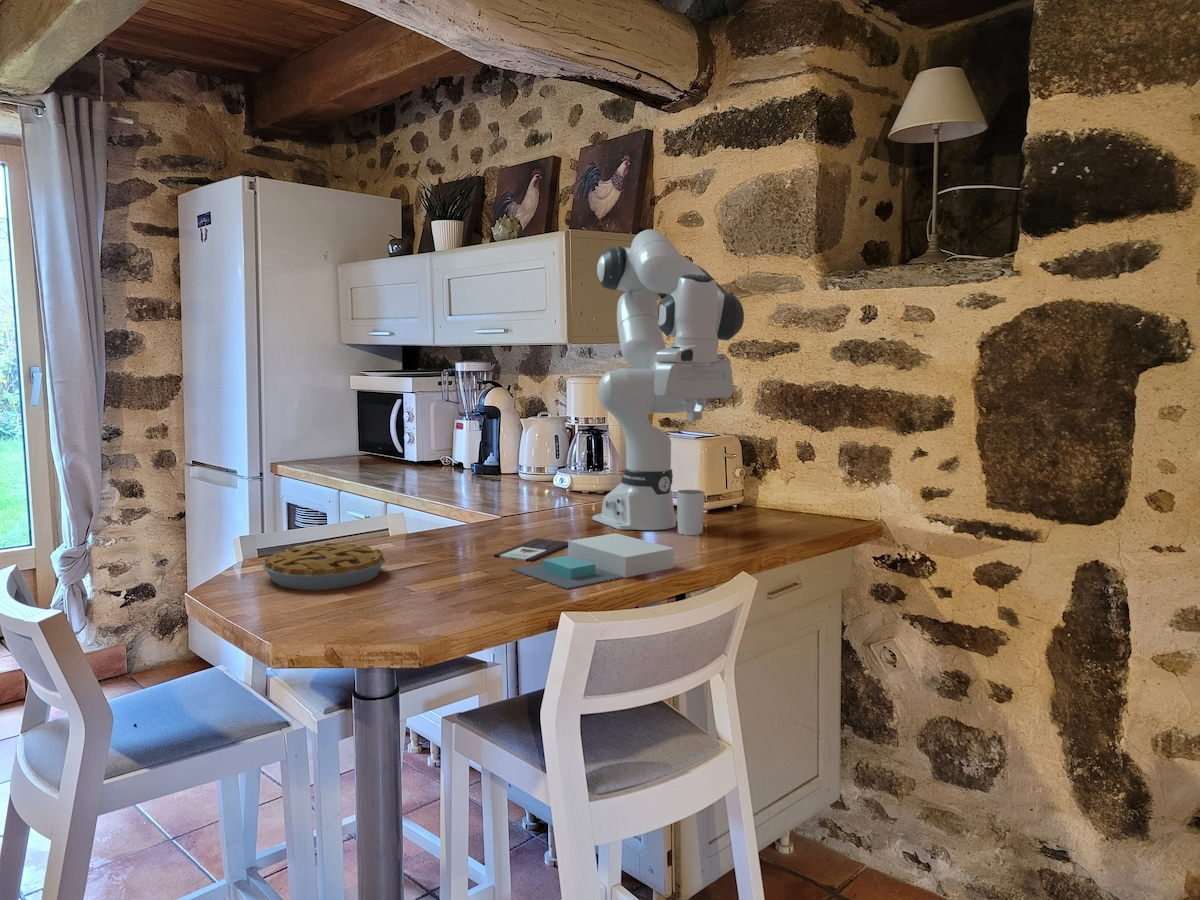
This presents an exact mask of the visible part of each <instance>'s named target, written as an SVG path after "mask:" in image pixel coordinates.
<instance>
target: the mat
mask: <svg viewBox="0 0 1200 900" xmlns="http://www.w3.org/2000/svg"><path fill="white" fill-rule="evenodd" d="M511 571H513V572H516V573H518V574H521V575H525V576H527V575H528V576H527V577H530V576H531V577H530V578H533V577H534V578H533V579H535V578H537V579H536V580H538V579H540V580H539V581H541V580H543V581H542V582H544V581H546V582H545V583H547V582H549V583H548V584H550V583H552V584H555V585H557V586H556V587H558V586H560V587H559V588H561V587H562V588H561V589H564V588H565V589H564V590H566V589H568V590H572V589H576V588H582V587H586V586H592V585H597V584H600V583H599V582H602V583H605V582H604V581H607V582H609V581H608V580H612V581H614V580H613V579H617V580H621V579H624V577H623V576H620V575H617V574H613V573H610V572H607V571H604V570H601V569H597V568H595V574H594V575H589V576H584V577H579V578H574V579H569V578H566V577H563V576H560V575H557V574H554V573H551V572H548V571H545V570H543V562H541V563H540V562H539V563H535V564H528V565H523V566H518V567H513V568H511ZM620 578H621V579H620ZM596 583H597V584H596ZM552 584H551V585H552ZM591 584H592V585H591ZM555 585H554V586H555Z"/></svg>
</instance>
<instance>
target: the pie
mask: <svg viewBox="0 0 1200 900" xmlns="http://www.w3.org/2000/svg"><path fill="white" fill-rule="evenodd" d="M385 562H386V560H385V557H384V552H382V551H381V550H380V549H377V548H375V549H372V548H371V547H370V546H368V545H365V544H363V545H360V546H356V545H355V544H353V543H352V544H344V545H338V544H336V543H328V542H327V543H325V545H320V546H317V545H314V544H312V545H311V544H309V545H306V546H305V547H301V548H297V547H288V548H287V550H285V551H282V552H281V551H277V552H275V553H271V555H270V556H266V557H265V559H264V561H263V566H262V568H263V570H265V571H266V572H267V574H268V575H269V577H270V579H271V580H272V582H273V583H275V584H277V585H278V586H279V587H283V588H288V589H293V590H300V591H301V590H304V591H305V590H306V591H321V590H334V589H339V588H340V589H341V588H346V587H351V586H357V585H359V584H363V583H366V582H370V581H372V580H373V579H374V578H376V577H378V574H379V573H380V570H381V567H382V566H383V564H384V563H385Z"/></svg>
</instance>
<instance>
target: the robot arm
mask: <svg viewBox="0 0 1200 900" xmlns="http://www.w3.org/2000/svg"><path fill="white" fill-rule="evenodd" d="M596 272H597V278H598V280H599V283H600V285H601V286H602V287H603V288H605V289H607V290H611V291H616V290H617V291H618V290H619V291H625V292H624V293H623V294H621V295H620V297H619V299H618V300H617V306H616V325H617V326H616V327H617V334H618V341H619V346H620V347H619V349H620V353H621V356H622V357H623V360H624V361H625V362H626V363H627V364H628V365H630V366H632V367H633V368H628V367H627V368H626V367H624V368H619V369H614V370H609V371H606V372H605V373H604V374H603V375H602V376H601V378H600V380H599V383H598V384H597V385H598V386H597V396H598V401H599V402H600V404H601V405H602V407H603V408H604V409H605V410H606V411H608V412H609V413H610V414H611V415H612V416H613V417H614V418H615V419H616V420H617V422H618V424H619V425H620V427H621V430H622V432H623V435H624V439H625V441H624V442H625V455H626V456H625V458H626V459H625V462H626V463H625V464H626V465H625V469H621V470H618V472H621V473H619V474H618V476H621V479H620V483H619V484H618V485H617V486H615V488H613V489H612V490H611V491H610V492H608V493H607V494H606V495H605V496H604V497H603V501H602V504H601V505H602V507H601V512H600V513H596V514H594V515H592V521H596V522H597V523H601V524H603V525H607V526H608V527H611V528H614V529H617V530H623V531H625V530H634V531H635V530H638V531H659V530H660V531H661V530H668V529H669V530H670V529H673V528H675V527H677V523H676V522H677V518H676V517H677V516H675V512H674V510H675V509H674V500H673V499H674V498H673V491H672V484H673V478H674V475H673V469H672V467H671V466H672V441H671V437H670V436H669V434H668V433H667V432H665V431H664V430H662V429H660V428H658V427H657V426H654V425H653V424H651V422H650V420H649V415H650V414H678V413H683V412H686V417H685V418H686V419H685V420H686V421H702V419H703V412H704V409H705V408H706V405H707V401H708V400H707V399H716V398H718V399H719V398H730V397H731V396H732V395H733V391H734V382H733V381H734V379H733V378H734V377H733V369H732V366H731V360H730V358H729V357H728V356H727V354H725V353H719V354H718V348H719V347H718V343H719V341H729V340H731V339H733V338H734V337H735V336H736V335H737V334H738V333H739V332H740V331H741V329H742V328H743V325H744V320H745V312H744V307H743V304H742V303H741V301H740V300H739V299H738V298H737V296H736V295H735V294H733V293H730V292H727V291H726V290H725V289H724V288H723V286H721V285H720V284H719V283H718V281H717V280H716V279H715V278H714V277H712V276H711V274H709V273H708V271H706V270H705V269H704V268H702V267H701V266H699V265H698V264H696V263H694V262H693V261H691V260H689V259H688V258H686V256H684V255H683V254H681V252H679V250H678V249H677V248H676V247H675V245H674V244H673V242H672V241H671V240H670V239H669V237H667V236H666V235H665V234H664V233H663V232H661V231H659V230H656V229H651V228H650V229H645V230H642V231H640V232H638V233H637V234H636V235H635V236H634V238H633V239H632V241H631V244H630V247H622V245H621V246H617V247H611V248H608V249H605V250H603V252H601V254H600V256H599V259H598V262H597V265H596ZM658 297H659V298H660V299H661V300H660V302H659V303H658V304H657V300H658ZM657 305H658V306H657ZM663 334H664V335H666V337H670V338H674V344H671V345H669V346H668V347H667V346H666V342H665V339H664V335H663ZM718 340H719V341H718Z"/></svg>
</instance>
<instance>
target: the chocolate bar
mask: <svg viewBox="0 0 1200 900" xmlns="http://www.w3.org/2000/svg"><path fill="white" fill-rule="evenodd" d="M566 548H568V541H560V540H554V539H553V540H552V539H544V538H534V539H531V540H528V541H526V542H524V543H521V544H519V545H515V546H513V547H511V548H508V549H506V550H503V551H500V552H498V553H494V554H493V557H494V558H499V559H505V560H506V559H507V560H513V561H514V560H515V561H519V562H520V561H521V562H528V561H530V563H532V561H533V562H535V561H537V559H538V560H540V559H542V558H544V556H545V557H547V556H549V555H552V554H554V553H557V552H558V551H561V550H564V549H566ZM556 551H557V552H556ZM551 553H552V554H551ZM546 555H547V556H546ZM539 558H540V559H539Z"/></svg>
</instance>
